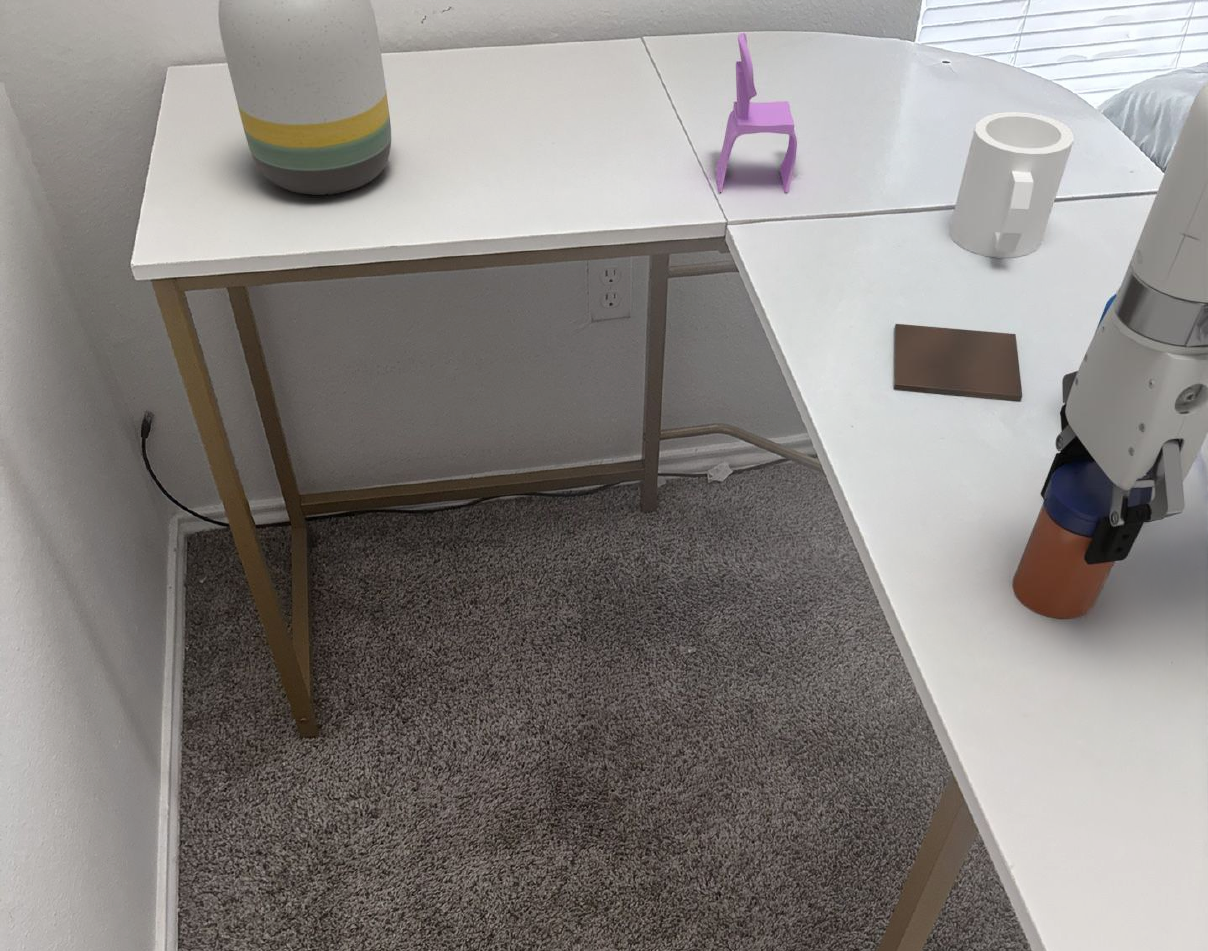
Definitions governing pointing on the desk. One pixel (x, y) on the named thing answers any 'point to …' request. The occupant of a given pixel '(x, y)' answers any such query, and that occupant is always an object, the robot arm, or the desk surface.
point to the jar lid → (1081, 496)
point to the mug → (1010, 183)
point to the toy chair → (755, 119)
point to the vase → (309, 90)
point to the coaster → (956, 362)
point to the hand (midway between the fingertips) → (1081, 525)
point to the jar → (1058, 571)
